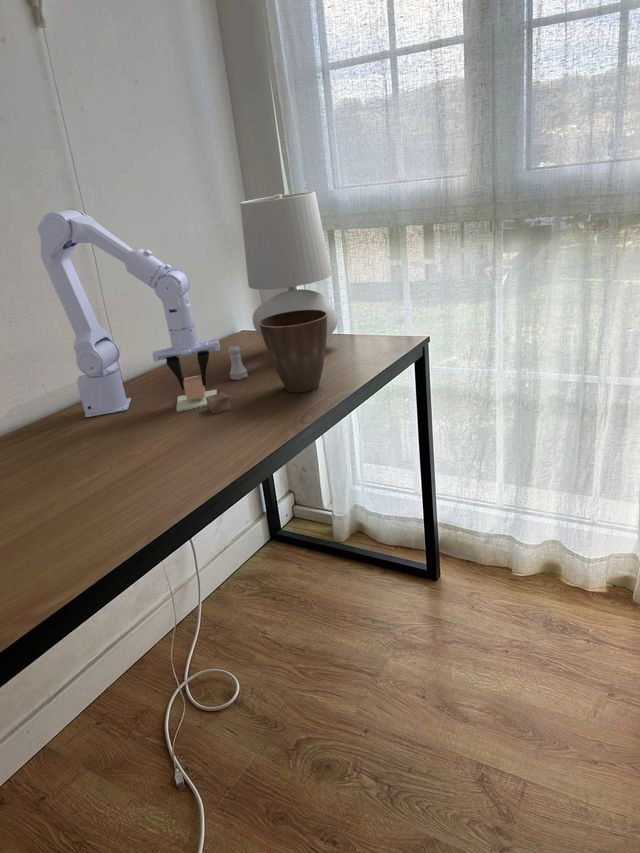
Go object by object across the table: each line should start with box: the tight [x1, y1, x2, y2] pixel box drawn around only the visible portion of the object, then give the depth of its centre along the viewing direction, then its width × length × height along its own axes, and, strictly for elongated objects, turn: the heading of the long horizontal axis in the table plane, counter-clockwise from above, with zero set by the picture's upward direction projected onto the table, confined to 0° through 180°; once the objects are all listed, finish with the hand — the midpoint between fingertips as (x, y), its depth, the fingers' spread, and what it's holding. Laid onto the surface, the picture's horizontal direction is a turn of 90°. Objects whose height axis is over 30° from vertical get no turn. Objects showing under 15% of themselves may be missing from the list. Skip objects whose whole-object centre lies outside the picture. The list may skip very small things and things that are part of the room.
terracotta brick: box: [183, 374, 206, 400], centre depth 150 cm, size 4×4×4 cm
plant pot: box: [259, 310, 328, 393], centre depth 148 cm, size 15×15×16 cm
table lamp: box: [239, 191, 338, 338], centre depth 172 cm, size 23×22×40 cm
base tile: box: [176, 389, 218, 412], centre depth 151 cm, size 9×9×1 cm
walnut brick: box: [206, 392, 232, 414], centre depth 144 cm, size 4×4×3 cm
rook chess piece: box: [227, 344, 249, 381], centre depth 163 cm, size 4×4×8 cm
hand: (194, 386), depth 150 cm, fingers closed on terracotta brick, 4 cm apart
